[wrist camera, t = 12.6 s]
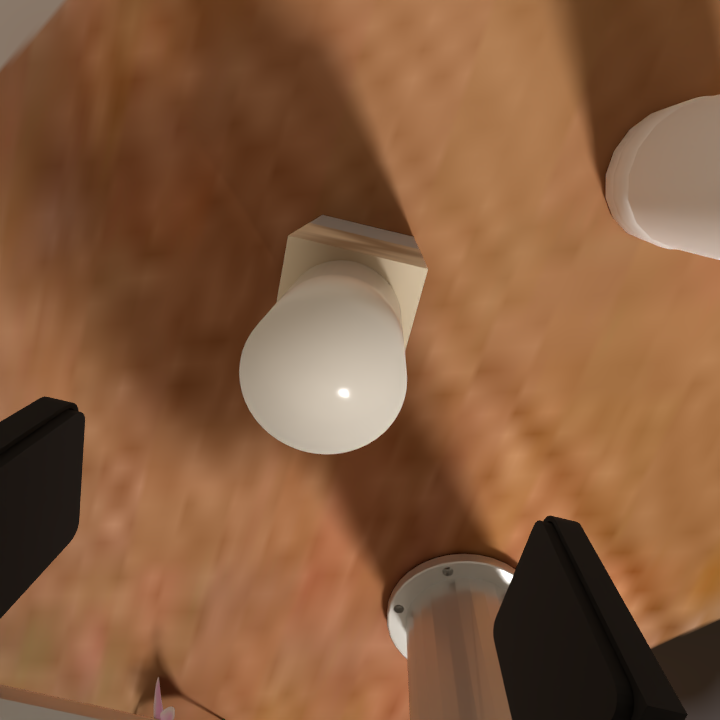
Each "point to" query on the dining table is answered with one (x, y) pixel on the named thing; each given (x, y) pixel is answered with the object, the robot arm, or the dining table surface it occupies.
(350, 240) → the tower top
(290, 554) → the dining table surface
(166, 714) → the lily
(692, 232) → the bottle
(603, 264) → the dining table surface
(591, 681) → the robot arm
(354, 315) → the cylinder
